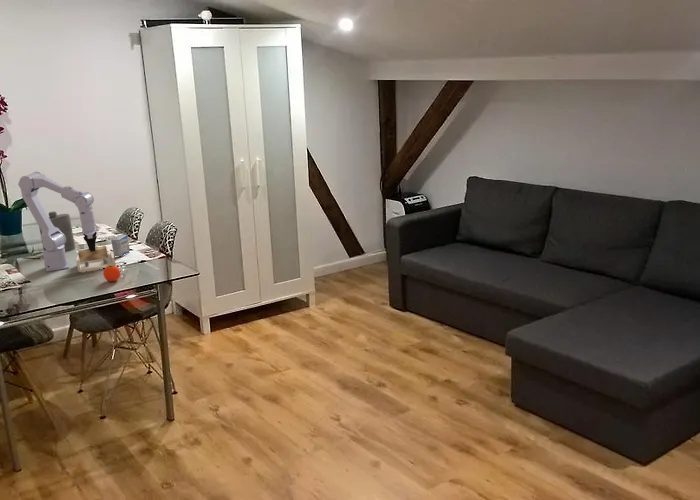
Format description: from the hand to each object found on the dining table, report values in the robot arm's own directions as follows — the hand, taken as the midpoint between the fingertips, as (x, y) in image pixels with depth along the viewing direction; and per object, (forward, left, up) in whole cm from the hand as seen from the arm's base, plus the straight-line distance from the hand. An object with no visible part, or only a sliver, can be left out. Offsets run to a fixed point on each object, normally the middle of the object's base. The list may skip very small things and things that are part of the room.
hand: (92, 249), depth 314 cm
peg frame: (+1, +2, -9) cm, 9 cm away
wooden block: (0, 0, -4) cm, 4 cm away
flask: (-15, +34, -9) cm, 39 cm away
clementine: (+7, -21, -9) cm, 23 cm away
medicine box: (+13, +14, -9) cm, 21 cm away
